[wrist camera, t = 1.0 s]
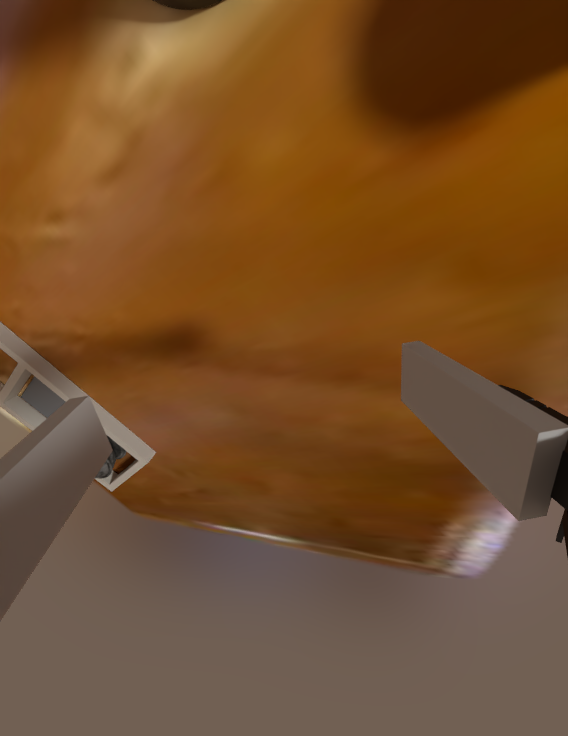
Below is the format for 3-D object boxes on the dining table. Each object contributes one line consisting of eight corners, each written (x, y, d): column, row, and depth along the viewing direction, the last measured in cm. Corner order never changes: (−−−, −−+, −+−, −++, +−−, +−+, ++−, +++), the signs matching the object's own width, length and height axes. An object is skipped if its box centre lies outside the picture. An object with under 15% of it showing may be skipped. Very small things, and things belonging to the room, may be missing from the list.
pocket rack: (-53, 345, 41) (-71, 351, 39) (-32, 295, 36) (-51, 299, 35) (120, 481, 47) (111, 491, 46) (156, 452, 43) (148, 462, 41)
